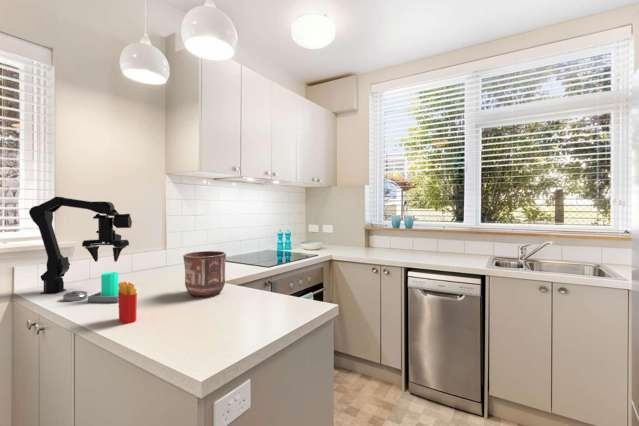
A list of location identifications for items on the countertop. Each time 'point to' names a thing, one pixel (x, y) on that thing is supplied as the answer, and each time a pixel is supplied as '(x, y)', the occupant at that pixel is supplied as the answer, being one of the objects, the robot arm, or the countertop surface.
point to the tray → (102, 298)
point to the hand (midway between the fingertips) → (106, 261)
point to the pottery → (204, 273)
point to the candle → (109, 284)
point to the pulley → (75, 296)
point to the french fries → (127, 302)
